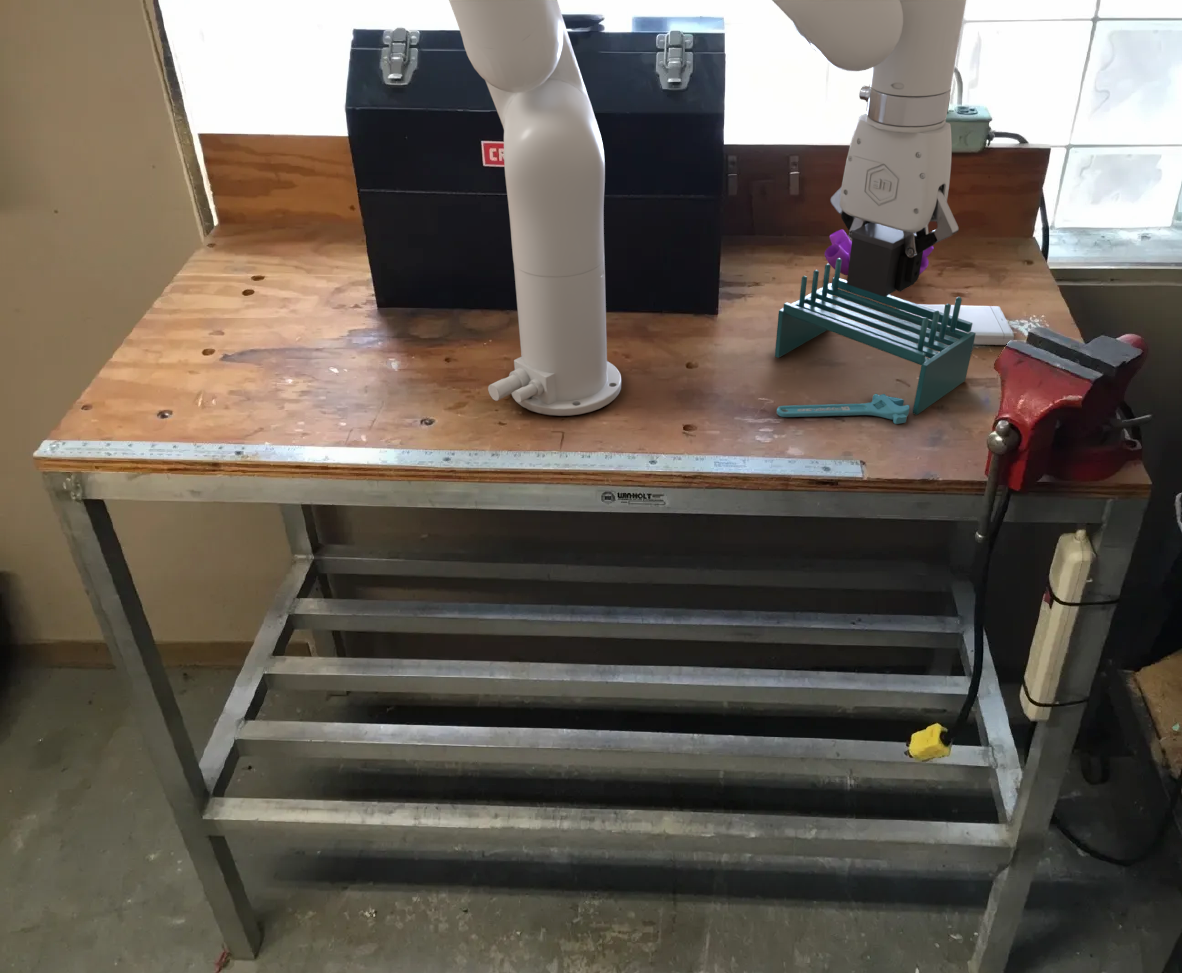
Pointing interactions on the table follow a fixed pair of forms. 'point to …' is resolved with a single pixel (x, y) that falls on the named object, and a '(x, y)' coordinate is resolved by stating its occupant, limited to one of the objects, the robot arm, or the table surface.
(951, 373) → the rack
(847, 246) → the purple tubular cluster
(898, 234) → the black box
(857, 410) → the adjustable wrench
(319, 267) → the table surface
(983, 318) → the hard drive
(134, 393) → the table surface
